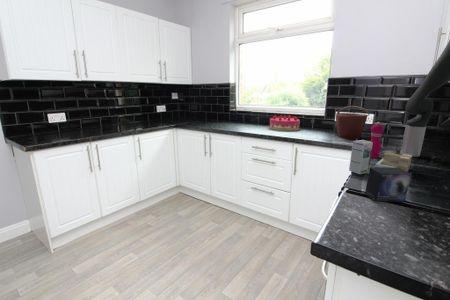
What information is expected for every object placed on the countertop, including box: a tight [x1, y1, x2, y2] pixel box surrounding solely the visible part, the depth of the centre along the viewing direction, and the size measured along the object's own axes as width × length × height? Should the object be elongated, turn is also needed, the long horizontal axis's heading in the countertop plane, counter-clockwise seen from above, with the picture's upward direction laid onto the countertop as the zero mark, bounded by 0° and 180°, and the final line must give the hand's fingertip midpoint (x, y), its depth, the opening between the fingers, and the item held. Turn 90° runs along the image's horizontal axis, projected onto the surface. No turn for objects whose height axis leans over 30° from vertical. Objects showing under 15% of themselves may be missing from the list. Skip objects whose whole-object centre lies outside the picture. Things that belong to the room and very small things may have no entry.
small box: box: [364, 166, 412, 203], centre depth 80 cm, size 11×6×10 cm, turn 90°
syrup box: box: [348, 139, 373, 175], centre depth 106 cm, size 6×6×14 cm
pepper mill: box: [369, 121, 385, 159], centre depth 132 cm, size 7×7×20 cm
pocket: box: [374, 157, 395, 168], centre depth 115 cm, size 15×8×2 cm, turn 135°
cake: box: [269, 114, 301, 132], centre depth 228 cm, size 28×28×12 cm
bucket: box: [335, 105, 371, 140], centre depth 188 cm, size 24×22×25 cm
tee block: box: [382, 152, 413, 172], centre depth 112 cm, size 10×10×7 cm
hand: (441, 126), depth 100 cm, fingers closed
